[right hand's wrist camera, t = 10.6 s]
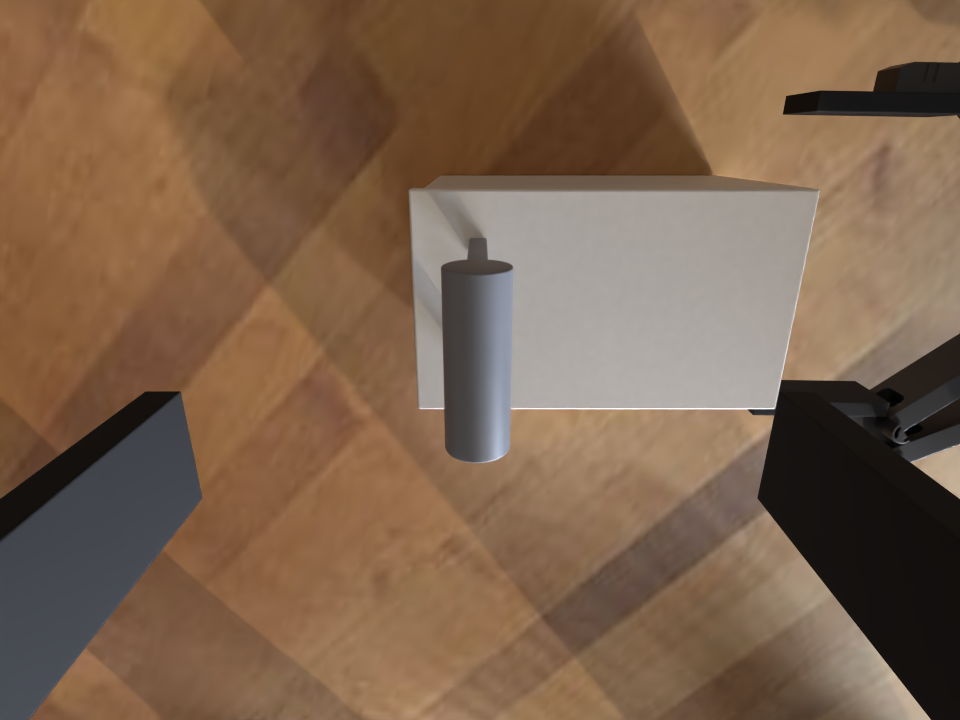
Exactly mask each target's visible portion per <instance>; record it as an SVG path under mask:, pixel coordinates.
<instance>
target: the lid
mask: <svg viewBox="0 0 960 720" xmlns="http://www.w3.org/2000/svg"><path fill="white" fill-rule="evenodd" d="M819 192H820V191H819V190H818V189H812V188H411V189H410V190H409V214H410V238H411V261H412V284H413V307H414V331H415V354H416V377H417V400H418V408H419V409H444V414H445V448H446V450H447V452H448V453H449V454H450V455H451V456H452V457H454V458H456V459H458V460H461V461H465V462H471V463H484V462H490V461H494V460H497V459H499V458H501V457H503V456H504V455H505V454H506V453H507V452H508V450H509V448H510V411H511V409H775V407H776V402H777V397H778V392H779V388H780V383H781V378H782V373H783V368H784V363H785V358H786V353H787V349H788V344H789V339H790V334H791V329H792V324H793V319H794V314H795V310H796V305H797V300H798V295H799V290H800V285H801V280H802V275H803V271H804V266H805V261H806V256H807V251H808V246H809V241H810V236H811V232H812V227H813V222H814V217H815V212H816V207H817V202H818V197H819Z"/></svg>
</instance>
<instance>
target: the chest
mask: <svg viewBox="0 0 960 720" xmlns="http://www.w3.org/2000/svg"><path fill="white" fill-rule="evenodd" d="M425 188H806V187H798V186H790V185H783V184H775V183H768V182H760V181H753V180H745V179H738V178H730V177H723V176H611V175H440V176H439V177H438V178H436V179H435V180H434V181H432V182H431V183H430V184H428V185H427V186H426V187H425Z"/></svg>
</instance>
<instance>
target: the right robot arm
mask: <svg viewBox="0 0 960 720" xmlns="http://www.w3.org/2000/svg"><path fill="white" fill-rule="evenodd" d="M201 499H202V494H201V489H200V484H199V479H198V474H197V469H196V464H195V459H194V455H193V450H192V445H191V440H190V435H189V430H188V425H187V420H186V416H185V411H184V406H183V401H182V396H181V392H144V393H143V394H142V395H140V396H139V397H138V398H136V399H135V400H134V401H132V402H131V403H130V404H128V405H127V406H125V407H124V408H123V409H121V410H120V411H119V412H117V413H116V414H115V415H113V416H112V417H111V418H109V419H108V420H107V421H105V422H104V423H102V424H101V425H100V426H98V427H97V428H96V429H94V430H93V431H92V432H90V433H89V434H88V435H86V436H85V437H84V438H82V439H81V440H79V441H78V442H77V443H75V444H74V445H73V446H71V447H70V448H69V449H67V450H66V451H65V452H63V453H62V454H61V455H59V456H58V457H56V458H55V459H54V460H52V461H51V462H50V463H48V464H47V465H46V466H44V467H43V468H42V469H40V470H39V471H38V472H36V473H35V474H34V475H32V476H31V477H29V478H28V479H27V480H25V481H24V482H23V483H21V484H20V485H19V486H17V487H16V488H15V489H13V490H12V491H11V492H9V493H8V494H6V495H5V496H4V497H2V498H1V499H0V720H29V719H30V718H31V716H32V715H33V714H34V712H35V711H36V710H37V709H38V707H39V706H40V705H41V704H42V702H43V701H44V700H45V698H46V697H47V696H48V695H49V693H50V692H51V691H52V690H53V688H54V687H55V686H56V684H57V683H58V682H59V681H60V679H61V678H62V677H63V675H64V674H65V673H66V672H67V670H68V669H69V668H70V667H71V665H72V664H73V663H74V661H75V660H76V659H77V658H78V656H79V655H80V654H81V653H82V651H83V650H84V649H85V647H86V646H87V645H88V644H89V642H90V641H91V640H92V639H93V637H94V636H95V635H96V633H97V632H98V631H99V630H100V628H101V627H102V626H103V624H104V623H105V622H106V621H107V619H108V618H109V617H110V616H111V614H112V613H113V612H114V610H115V609H116V608H117V607H118V605H119V604H120V603H121V602H122V600H123V599H124V598H125V596H126V595H127V594H128V593H129V591H130V590H131V589H132V587H133V586H134V585H135V584H136V582H137V581H138V580H139V579H140V577H141V576H142V575H143V573H144V572H145V571H146V570H147V568H148V567H149V566H150V565H151V563H152V562H153V561H154V559H155V558H156V557H157V556H158V554H159V553H160V552H161V551H162V549H163V548H164V547H165V545H166V544H167V543H168V542H169V540H170V539H171V538H172V536H173V535H174V534H175V533H176V531H177V530H178V529H179V528H180V526H181V525H182V524H183V522H184V521H185V520H186V519H187V517H188V516H189V515H190V514H191V512H192V511H193V510H194V508H195V507H196V506H197V505H198V503H199V502H200V501H201ZM758 499H759V501H760V502H761V503H762V505H763V506H764V507H765V508H766V510H767V511H768V512H769V514H770V515H771V516H772V517H773V519H774V520H775V521H776V522H777V524H778V525H779V526H780V528H781V529H782V530H783V531H784V533H785V534H786V535H787V536H788V538H789V539H790V540H791V542H792V543H793V544H794V545H795V547H796V548H797V549H798V551H799V552H800V553H801V554H802V556H803V557H804V558H805V559H806V561H807V562H808V563H809V565H810V566H811V567H812V568H813V570H814V571H815V572H816V573H817V575H818V576H819V577H820V579H821V580H822V581H823V582H824V584H825V585H826V586H827V587H828V589H829V590H830V591H831V593H832V594H833V595H834V596H835V598H836V599H837V600H838V602H839V603H840V604H841V605H842V607H843V608H844V609H845V610H846V612H847V613H848V614H849V616H850V617H851V618H852V619H853V621H854V622H855V623H856V624H857V626H858V627H859V628H860V630H861V631H862V632H863V633H864V635H865V636H866V637H867V639H868V640H869V641H870V642H871V644H872V645H873V646H874V647H875V649H876V650H877V651H878V653H879V654H880V655H881V656H882V658H883V659H884V660H885V661H886V663H887V664H888V665H889V667H890V668H891V669H892V670H893V672H894V673H895V674H896V675H897V677H898V678H899V679H900V681H901V682H902V683H903V684H904V686H905V687H906V688H907V690H908V691H909V692H910V693H911V695H912V696H913V697H914V698H915V700H916V701H917V702H918V704H919V705H920V706H921V707H922V709H923V710H924V711H925V712H926V714H927V715H928V716H929V718H930V719H931V720H960V499H959V498H958V497H956V496H955V495H954V494H952V493H951V492H949V491H948V490H947V489H945V488H944V487H943V486H941V485H940V484H939V483H937V482H936V481H935V480H933V479H932V478H931V477H929V476H928V475H926V474H925V473H924V472H922V471H921V470H920V469H918V468H917V467H916V466H914V465H913V464H912V463H910V462H909V461H908V460H906V459H905V458H904V457H902V456H901V455H899V454H898V453H897V452H895V451H894V450H893V449H891V448H890V447H889V446H887V445H886V444H885V443H883V442H882V441H881V440H879V439H878V438H876V437H875V436H874V435H872V434H871V433H870V432H868V431H867V430H866V429H864V428H863V427H862V426H860V425H859V424H858V423H856V422H855V421H853V420H852V419H851V418H849V417H848V416H847V415H845V414H844V413H843V412H841V411H840V410H839V409H837V408H836V407H835V406H833V405H832V404H830V403H829V402H828V401H826V400H825V399H824V398H822V397H821V396H820V395H818V394H817V393H816V392H779V396H778V401H777V406H776V411H775V416H774V420H773V425H772V430H771V435H770V440H769V445H768V450H767V455H766V459H765V464H764V469H763V474H762V479H761V484H760V489H759V493H758Z"/></svg>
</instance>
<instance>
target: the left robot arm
mask: <svg viewBox="0 0 960 720" xmlns="http://www.w3.org/2000/svg"><path fill="white" fill-rule="evenodd" d="M783 115H839V116H897V117H936V116H952V115H957V116H958V117H959V118H960V62H959V63H943V62H940V63H938V62H912V63H906V64H901V65H896V66H891V67H888V68H886V69H883V70H880V71H878V73H877V77H876V81H875V86H874V90H873V92H868V91H815V92H809V93H803V94H796V95H790V96H786V101H785V106H784V111H783ZM779 392H816V393H817V394H818V395H820V396H821V397H822V398H824V399H825V400H826V401H828V402H829V403H830V404H832V405H833V406H835V407H836V408H837V409H839V410H840V411H841V412H843V413H844V414H845V415H847V416H848V417H849V418H851V419H852V420H853V421H855V422H856V423H858V424H859V425H860V426H862V427H863V428H864V429H866V430H867V431H868V432H870V433H871V434H872V435H874V436H875V437H876V438H878V439H879V440H881V441H882V442H883V443H885V444H886V445H887V446H889V447H890V448H891V449H893V450H894V451H895V452H897V453H898V454H899V455H901V456H902V457H904V458H905V459H906V460H908V461H909V462H910V463H911V462H913V461H916V460H919V459H921V458H924V457H927V456H930V455H932V454H935V453H938V452H940V451H943V450H946V449H948V448H951V447H954V446H957V445H959V444H960V334H958V335H957V336H955V337H954V338H952V339H950V340H949V341H947V342H946V343H944V344H942V345H941V346H939V347H938V348H936V349H934V350H933V351H931V352H930V353H928V354H926V355H925V356H923V357H922V358H920V359H918V360H917V361H915V362H914V363H912V364H910V365H909V366H907V367H906V368H904V369H902V370H901V371H899V372H898V373H896V374H894V375H893V376H891V377H890V378H888V379H886V380H885V381H883V382H882V383H880V384H878V385H877V386H875V387H874V388H872V389H870V390H869V389H867V388H865V387H864V386H862V385H861V384H859V383H857V382H856V381H807V380H781V383H780V388H779ZM779 392H778V396H779ZM777 401H778V397H777ZM776 406H777V402H776ZM748 410H749V411H750V412H751V413H752V414H753V415H775V411H776V407H775V409H748Z"/></svg>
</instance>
